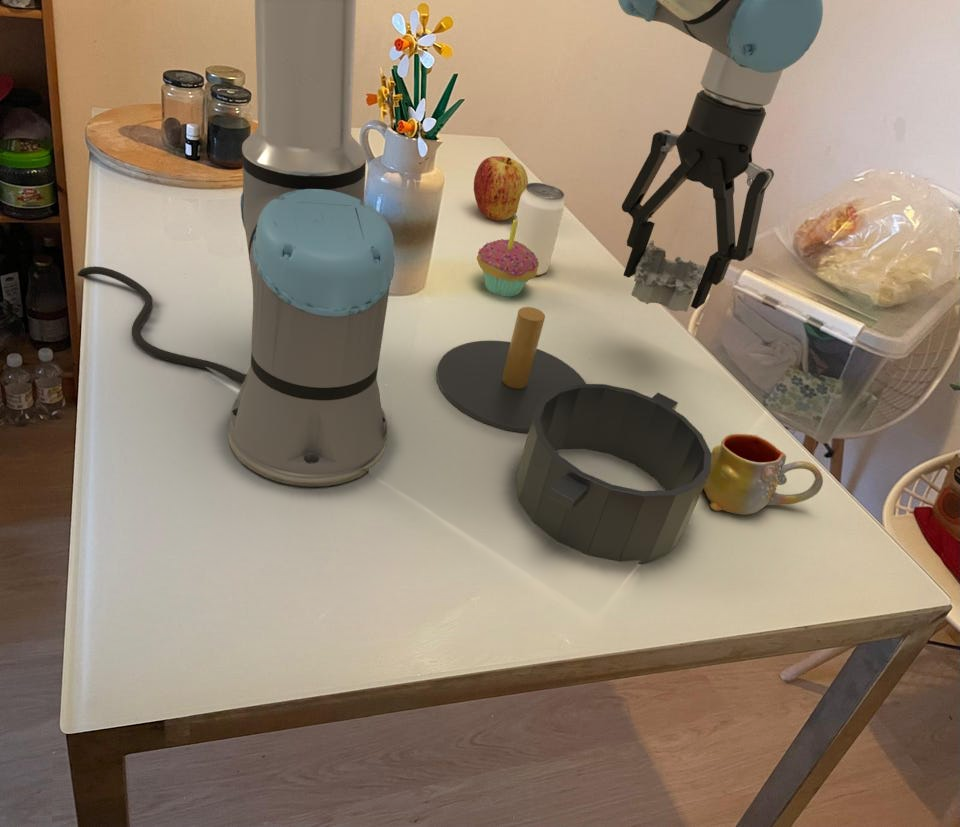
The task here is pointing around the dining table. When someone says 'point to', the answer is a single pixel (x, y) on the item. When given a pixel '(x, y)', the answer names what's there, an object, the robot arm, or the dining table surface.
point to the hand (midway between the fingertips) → (663, 288)
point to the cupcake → (507, 265)
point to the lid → (504, 375)
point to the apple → (499, 187)
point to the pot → (595, 503)
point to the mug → (752, 475)
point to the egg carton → (666, 279)
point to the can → (539, 221)
